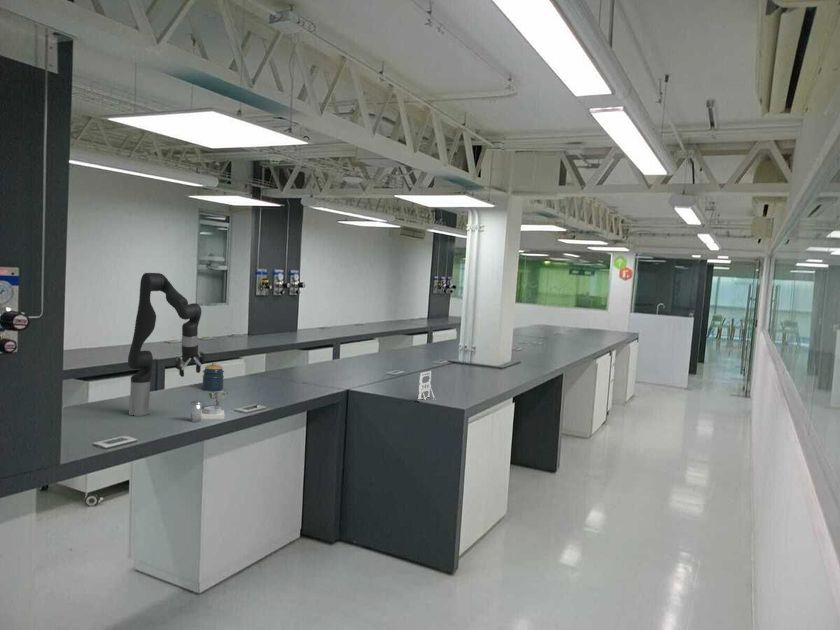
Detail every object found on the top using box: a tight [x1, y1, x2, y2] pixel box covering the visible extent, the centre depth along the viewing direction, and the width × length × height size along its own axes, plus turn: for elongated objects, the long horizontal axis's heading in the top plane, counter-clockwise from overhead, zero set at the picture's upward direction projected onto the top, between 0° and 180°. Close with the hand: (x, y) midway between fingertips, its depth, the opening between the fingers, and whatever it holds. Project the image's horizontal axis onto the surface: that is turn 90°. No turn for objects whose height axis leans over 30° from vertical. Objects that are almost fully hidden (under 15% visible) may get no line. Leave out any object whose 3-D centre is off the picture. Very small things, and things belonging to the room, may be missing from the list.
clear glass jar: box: [190, 400, 203, 423], centre depth 309 cm, size 5×5×10 cm
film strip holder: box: [417, 370, 435, 400], centre depth 397 cm, size 14×14×20 cm
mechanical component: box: [208, 390, 228, 407], centre depth 338 cm, size 3×10×10 cm, turn 134°
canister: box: [201, 361, 225, 392], centre depth 391 cm, size 13×13×18 cm
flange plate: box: [201, 405, 226, 420], centre depth 322 cm, size 12×12×4 cm
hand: (190, 374), depth 300 cm, fingers open, 8 cm apart
